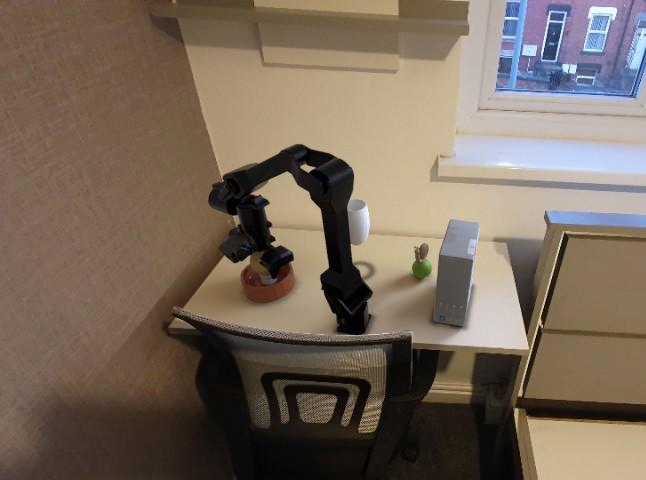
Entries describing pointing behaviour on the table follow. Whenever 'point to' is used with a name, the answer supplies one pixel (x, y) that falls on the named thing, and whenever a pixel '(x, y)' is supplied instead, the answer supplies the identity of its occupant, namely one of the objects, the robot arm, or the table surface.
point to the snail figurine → (421, 262)
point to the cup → (358, 221)
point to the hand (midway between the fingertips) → (267, 273)
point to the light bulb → (261, 269)
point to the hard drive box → (456, 272)
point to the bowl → (264, 292)
